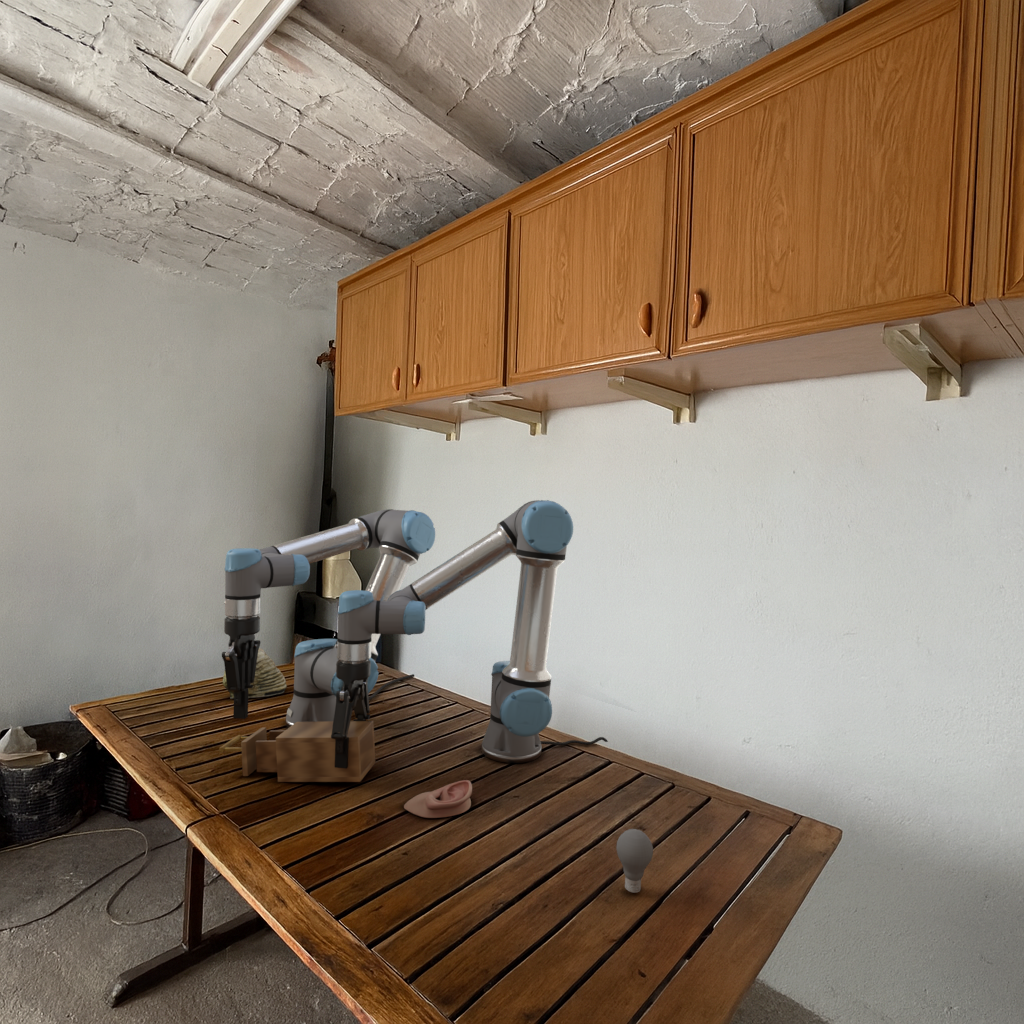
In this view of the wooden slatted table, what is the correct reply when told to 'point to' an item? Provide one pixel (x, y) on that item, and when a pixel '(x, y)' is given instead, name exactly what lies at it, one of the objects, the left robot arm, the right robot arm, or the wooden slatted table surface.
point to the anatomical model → (442, 801)
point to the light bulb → (634, 857)
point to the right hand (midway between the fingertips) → (350, 757)
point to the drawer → (256, 751)
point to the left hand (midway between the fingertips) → (240, 717)
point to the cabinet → (323, 752)
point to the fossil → (264, 678)
